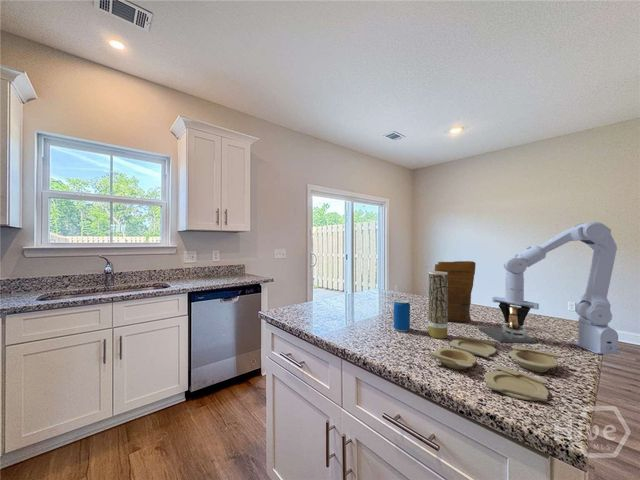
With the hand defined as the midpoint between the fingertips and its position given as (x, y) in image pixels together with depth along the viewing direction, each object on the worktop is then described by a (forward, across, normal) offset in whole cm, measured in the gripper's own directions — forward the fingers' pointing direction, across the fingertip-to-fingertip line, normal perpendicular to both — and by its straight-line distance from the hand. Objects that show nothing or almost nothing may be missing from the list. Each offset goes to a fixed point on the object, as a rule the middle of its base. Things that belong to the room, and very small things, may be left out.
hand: (514, 324), depth 103 cm
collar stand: (+5, +3, 0) cm, 6 cm away
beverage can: (+6, +32, +27) cm, 42 cm away
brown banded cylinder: (+2, 0, 0) cm, 3 cm away
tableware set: (+6, -4, +32) cm, 33 cm away
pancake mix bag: (+6, +25, -3) cm, 25 cm away
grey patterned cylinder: (+6, +19, +22) cm, 30 cm away
